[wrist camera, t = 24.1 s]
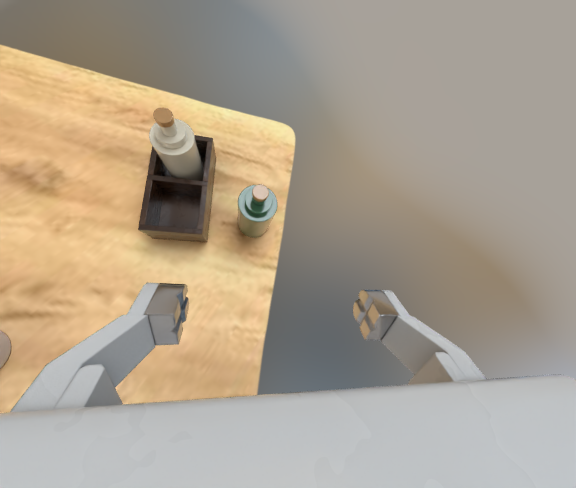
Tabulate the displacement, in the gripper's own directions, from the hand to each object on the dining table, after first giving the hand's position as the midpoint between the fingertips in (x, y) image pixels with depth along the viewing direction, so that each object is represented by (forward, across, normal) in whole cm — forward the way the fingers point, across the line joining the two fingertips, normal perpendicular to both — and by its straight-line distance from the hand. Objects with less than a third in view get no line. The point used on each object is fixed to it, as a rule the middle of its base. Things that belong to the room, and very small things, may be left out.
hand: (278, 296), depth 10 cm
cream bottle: (+34, +12, +6) cm, 37 cm away
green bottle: (+29, 0, +12) cm, 32 cm away
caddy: (+32, +12, +9) cm, 36 cm away
